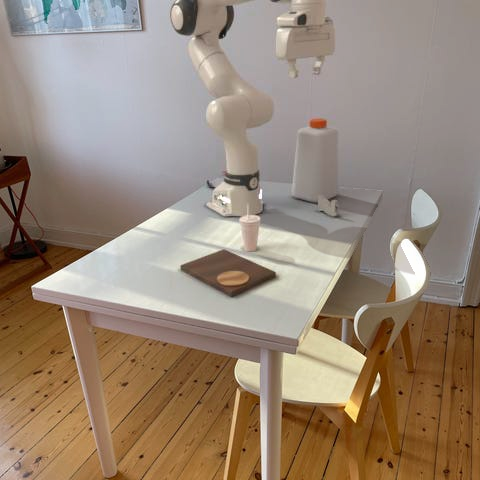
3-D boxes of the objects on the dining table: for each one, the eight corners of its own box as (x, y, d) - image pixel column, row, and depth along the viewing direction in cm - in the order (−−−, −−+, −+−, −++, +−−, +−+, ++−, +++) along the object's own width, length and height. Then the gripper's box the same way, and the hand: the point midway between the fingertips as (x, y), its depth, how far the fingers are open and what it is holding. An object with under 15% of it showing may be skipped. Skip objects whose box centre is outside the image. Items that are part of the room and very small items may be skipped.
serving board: (180, 270, 140) (180, 263, 139) (224, 253, 149) (223, 247, 148) (231, 296, 126) (230, 290, 125) (275, 277, 135) (275, 270, 134)
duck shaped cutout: (320, 210, 180) (339, 217, 172) (317, 211, 179) (336, 218, 172) (321, 194, 177) (340, 201, 169) (318, 195, 176) (337, 202, 169)
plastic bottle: (341, 195, 193) (347, 118, 179) (319, 205, 184) (323, 125, 170) (310, 188, 202) (313, 114, 188) (287, 197, 193) (288, 121, 178)
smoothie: (239, 245, 154) (237, 201, 147) (259, 244, 155) (259, 200, 147) (241, 253, 149) (239, 208, 141) (262, 252, 149) (262, 207, 142)
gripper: (324, 16, 138) (321, 72, 145) (272, 18, 126) (271, 78, 134) (342, 16, 134) (338, 73, 141) (290, 18, 122) (288, 80, 130)
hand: (305, 76), depth 137 cm, fingers open, 8 cm apart
